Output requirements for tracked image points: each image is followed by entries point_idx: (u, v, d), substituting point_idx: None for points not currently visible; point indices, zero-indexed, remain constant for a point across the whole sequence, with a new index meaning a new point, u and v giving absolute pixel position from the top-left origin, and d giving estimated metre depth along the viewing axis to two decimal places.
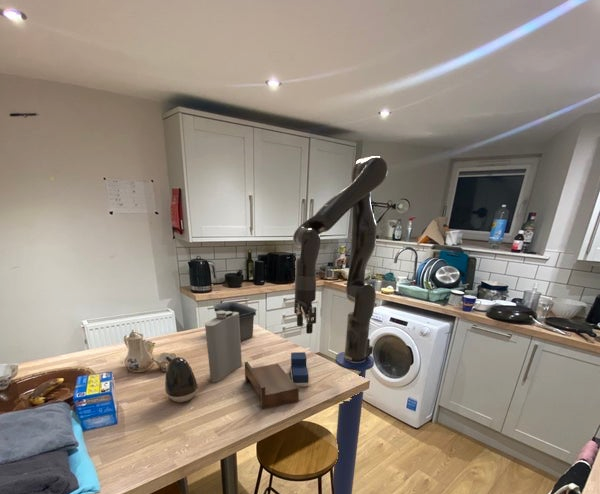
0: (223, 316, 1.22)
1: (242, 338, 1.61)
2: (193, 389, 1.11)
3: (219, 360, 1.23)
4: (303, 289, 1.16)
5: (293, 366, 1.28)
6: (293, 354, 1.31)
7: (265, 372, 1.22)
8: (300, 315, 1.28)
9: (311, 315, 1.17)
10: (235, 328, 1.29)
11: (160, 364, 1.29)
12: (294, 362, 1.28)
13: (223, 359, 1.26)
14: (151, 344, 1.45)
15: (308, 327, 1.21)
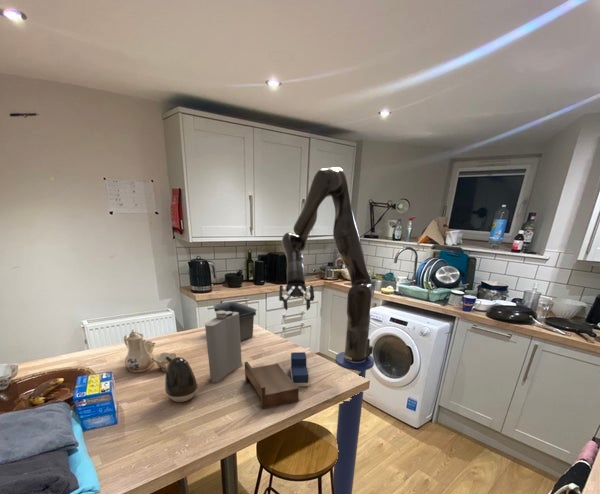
0: (223, 316, 1.22)
1: (242, 338, 1.61)
2: (193, 389, 1.11)
3: (219, 360, 1.23)
4: None
5: (293, 366, 1.28)
6: (293, 354, 1.31)
7: (265, 372, 1.22)
8: (306, 299, 1.36)
9: None
10: (235, 328, 1.29)
11: (160, 364, 1.29)
12: (294, 362, 1.28)
13: (223, 359, 1.26)
14: (151, 344, 1.45)
15: None
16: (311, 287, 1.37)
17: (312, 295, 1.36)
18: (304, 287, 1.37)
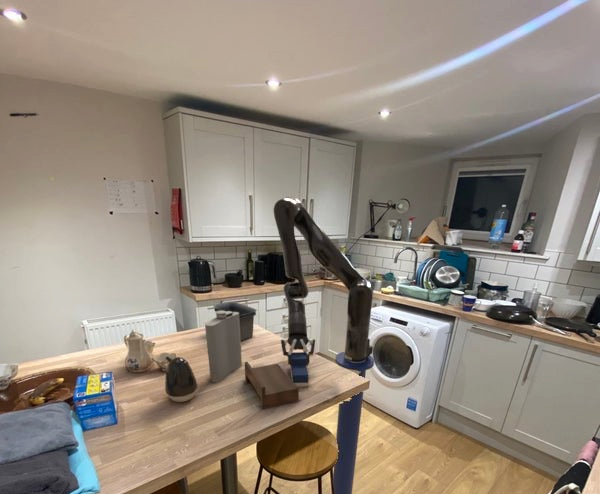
0: (223, 316, 1.22)
1: (242, 338, 1.61)
2: (193, 389, 1.11)
3: (219, 360, 1.23)
4: None
5: (293, 366, 1.28)
6: (293, 354, 1.31)
7: (265, 372, 1.22)
8: (306, 354, 1.32)
9: None
10: (235, 328, 1.29)
11: (160, 364, 1.29)
12: (294, 362, 1.28)
13: (223, 359, 1.26)
14: (151, 344, 1.45)
15: None
16: (313, 341, 1.33)
17: (312, 350, 1.31)
18: (306, 340, 1.33)
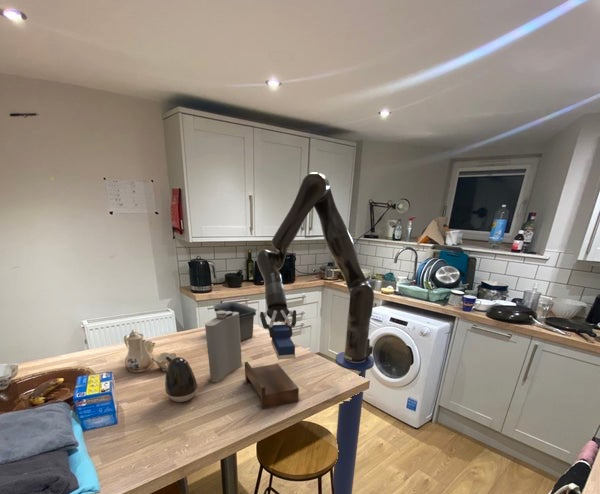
0: (223, 316, 1.22)
1: (242, 338, 1.61)
2: (193, 389, 1.11)
3: (219, 360, 1.23)
4: None
5: (276, 339, 1.19)
6: (274, 326, 1.22)
7: (265, 372, 1.22)
8: None
9: (261, 320, 1.23)
10: (235, 328, 1.29)
11: (160, 364, 1.29)
12: (277, 334, 1.19)
13: (223, 359, 1.26)
14: (151, 344, 1.45)
15: None
16: (294, 312, 1.25)
17: (294, 321, 1.24)
18: (286, 311, 1.25)
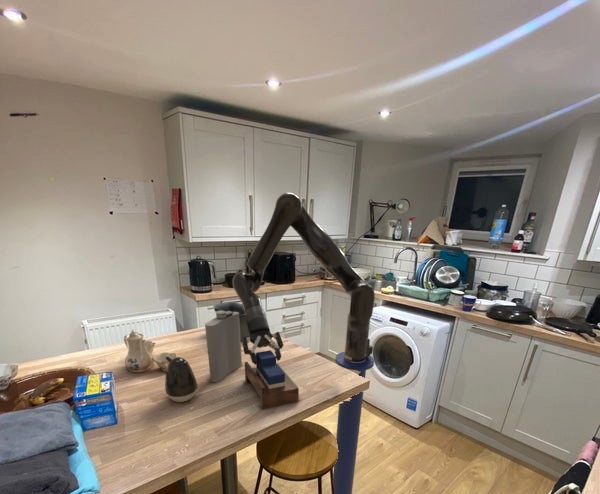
0: (223, 316, 1.22)
1: (242, 338, 1.61)
2: (193, 389, 1.11)
3: (219, 360, 1.23)
4: None
5: (263, 367, 1.16)
6: (259, 354, 1.19)
7: None
8: (275, 349, 1.21)
9: (243, 345, 1.19)
10: (235, 328, 1.29)
11: (160, 364, 1.29)
12: (263, 362, 1.16)
13: (223, 359, 1.26)
14: (151, 344, 1.45)
15: None
16: (278, 334, 1.22)
17: (281, 343, 1.21)
18: (270, 335, 1.21)
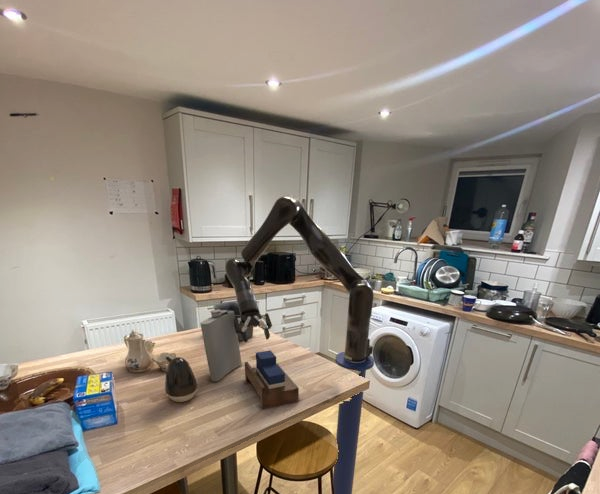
0: (218, 314, 1.23)
1: None
2: (193, 389, 1.11)
3: (217, 358, 1.23)
4: None
5: (263, 367, 1.16)
6: (259, 354, 1.19)
7: None
8: (264, 328, 1.31)
9: (234, 325, 1.28)
10: (231, 326, 1.29)
11: (160, 364, 1.29)
12: (263, 362, 1.16)
13: (221, 358, 1.26)
14: (151, 344, 1.45)
15: None
16: (267, 315, 1.32)
17: (269, 323, 1.31)
18: (260, 316, 1.31)
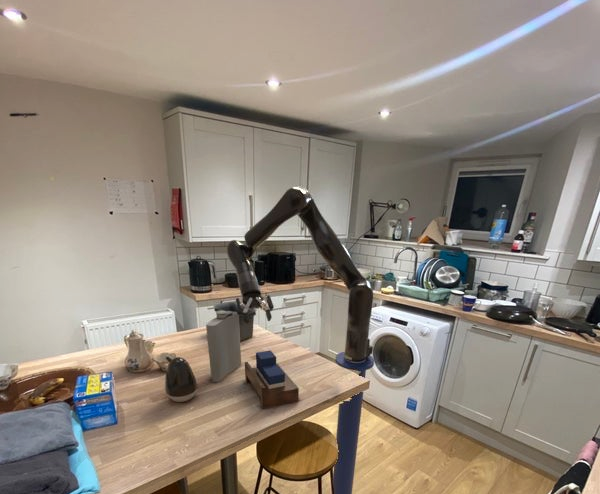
0: (223, 316, 1.22)
1: (242, 338, 1.61)
2: (193, 389, 1.11)
3: (220, 360, 1.23)
4: None
5: (263, 367, 1.16)
6: (259, 354, 1.19)
7: None
8: (266, 310, 1.30)
9: (236, 306, 1.28)
10: (234, 327, 1.29)
11: (160, 364, 1.29)
12: (263, 362, 1.16)
13: (223, 359, 1.26)
14: (151, 344, 1.45)
15: None
16: (268, 297, 1.32)
17: (271, 305, 1.31)
18: (261, 297, 1.31)
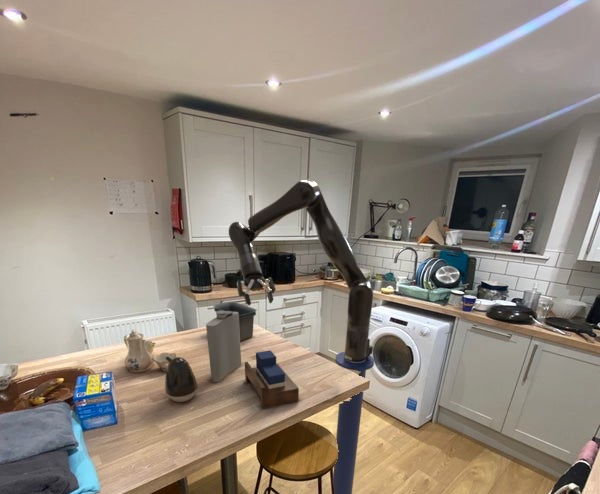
0: (223, 316, 1.22)
1: (242, 338, 1.61)
2: (193, 389, 1.11)
3: (220, 360, 1.23)
4: None
5: (263, 367, 1.16)
6: (259, 354, 1.19)
7: None
8: (268, 292, 1.30)
9: None
10: (234, 327, 1.29)
11: (160, 364, 1.29)
12: (263, 362, 1.16)
13: (223, 359, 1.26)
14: (151, 344, 1.45)
15: None
16: (270, 279, 1.31)
17: (273, 287, 1.30)
18: (263, 279, 1.30)
